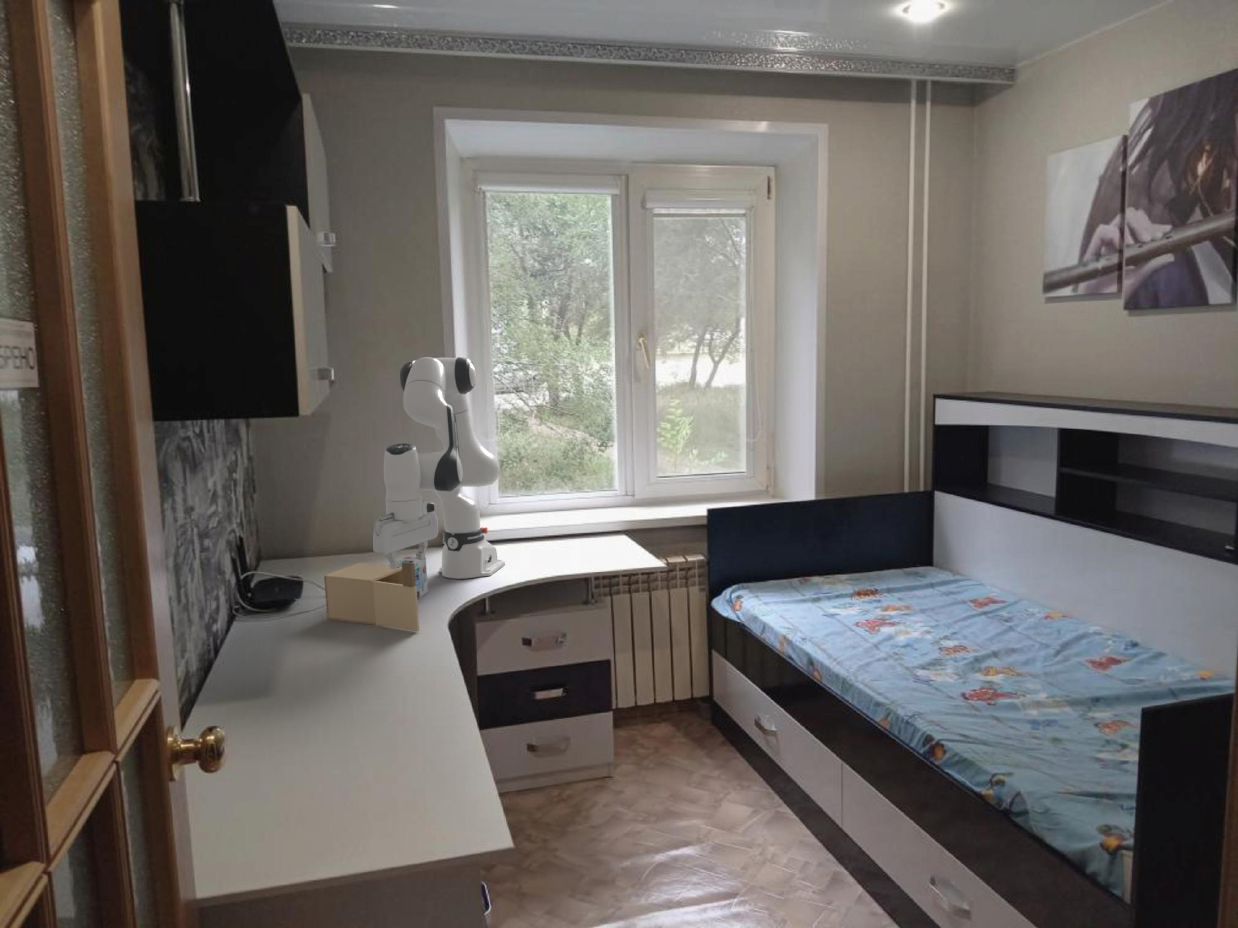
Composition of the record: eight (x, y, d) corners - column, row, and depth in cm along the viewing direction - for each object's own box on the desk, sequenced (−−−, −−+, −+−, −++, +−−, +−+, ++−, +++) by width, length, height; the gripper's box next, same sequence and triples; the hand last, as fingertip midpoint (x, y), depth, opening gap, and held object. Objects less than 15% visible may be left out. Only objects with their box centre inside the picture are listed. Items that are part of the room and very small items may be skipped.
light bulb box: (412, 603, 240) (410, 565, 239) (390, 602, 241) (388, 565, 240) (428, 592, 250) (426, 556, 249) (407, 591, 252) (405, 556, 250)
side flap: (419, 630, 215) (415, 563, 213) (416, 632, 214) (412, 564, 212) (378, 623, 222) (373, 557, 219) (374, 624, 221) (370, 558, 218)
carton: (362, 603, 240) (359, 562, 239) (408, 609, 234) (406, 567, 232) (327, 618, 228) (324, 575, 226) (375, 625, 221) (372, 580, 220)
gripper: (384, 519, 201) (388, 575, 203) (440, 502, 218) (444, 555, 221) (364, 517, 204) (368, 572, 206) (421, 501, 221) (425, 552, 224)
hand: (408, 563), depth 213 cm, fingers open, 8 cm apart
